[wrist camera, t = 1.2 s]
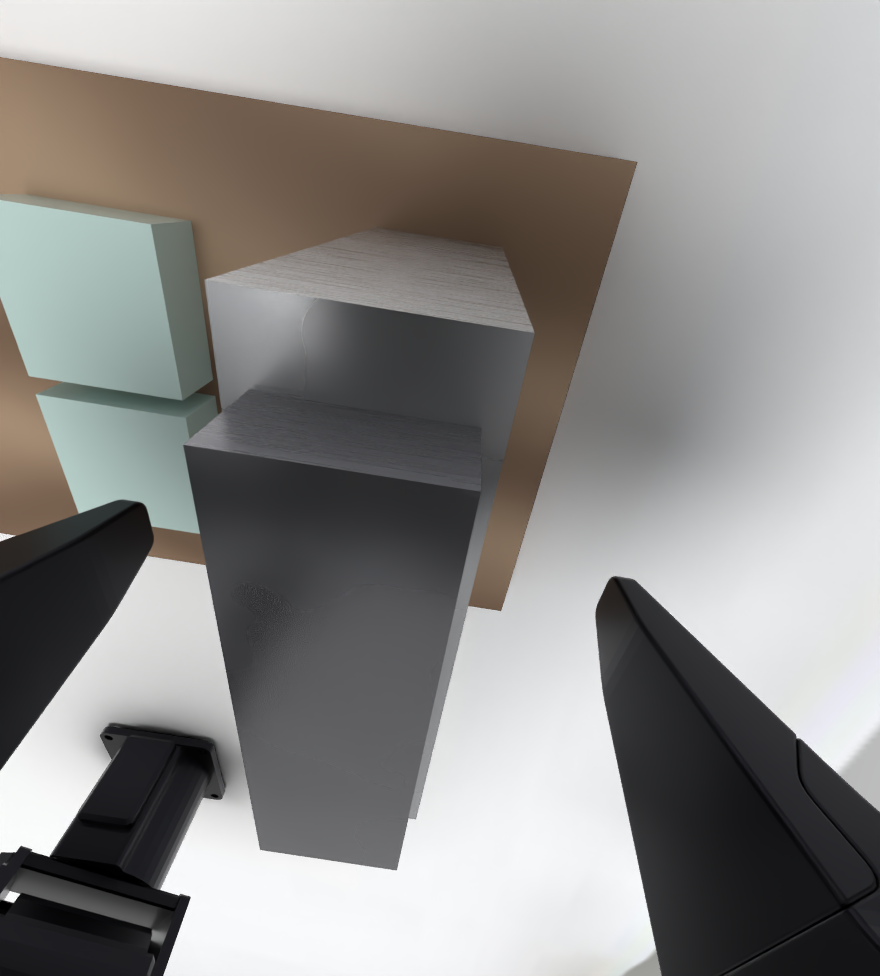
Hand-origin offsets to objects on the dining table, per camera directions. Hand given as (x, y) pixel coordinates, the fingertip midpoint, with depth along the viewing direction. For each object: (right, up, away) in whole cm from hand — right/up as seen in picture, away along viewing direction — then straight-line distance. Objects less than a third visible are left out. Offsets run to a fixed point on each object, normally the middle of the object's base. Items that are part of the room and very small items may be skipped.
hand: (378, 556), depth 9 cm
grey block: (+1, +3, +5) cm, 6 cm away
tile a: (-8, +3, +6) cm, 10 cm away
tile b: (-7, +6, +3) cm, 10 cm away
